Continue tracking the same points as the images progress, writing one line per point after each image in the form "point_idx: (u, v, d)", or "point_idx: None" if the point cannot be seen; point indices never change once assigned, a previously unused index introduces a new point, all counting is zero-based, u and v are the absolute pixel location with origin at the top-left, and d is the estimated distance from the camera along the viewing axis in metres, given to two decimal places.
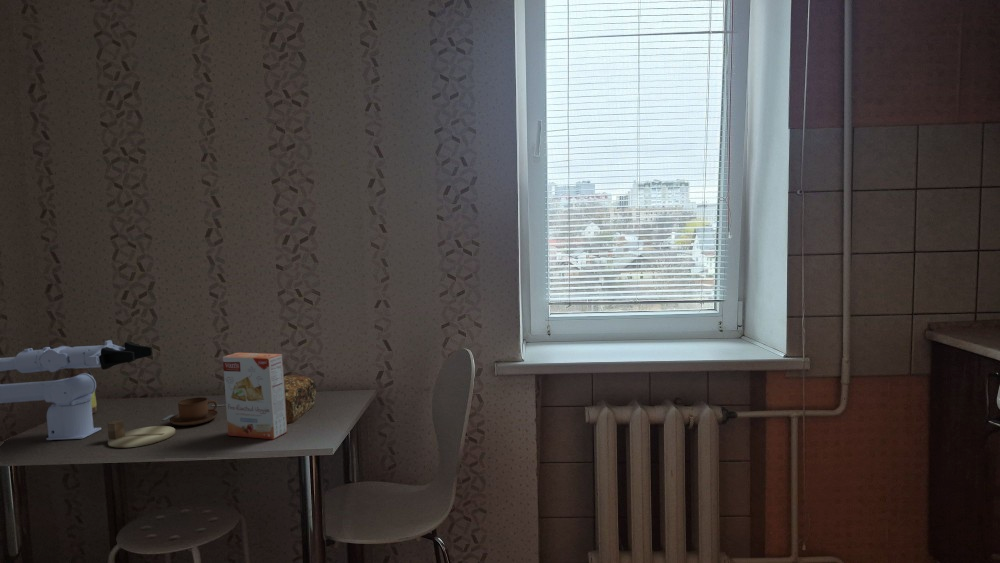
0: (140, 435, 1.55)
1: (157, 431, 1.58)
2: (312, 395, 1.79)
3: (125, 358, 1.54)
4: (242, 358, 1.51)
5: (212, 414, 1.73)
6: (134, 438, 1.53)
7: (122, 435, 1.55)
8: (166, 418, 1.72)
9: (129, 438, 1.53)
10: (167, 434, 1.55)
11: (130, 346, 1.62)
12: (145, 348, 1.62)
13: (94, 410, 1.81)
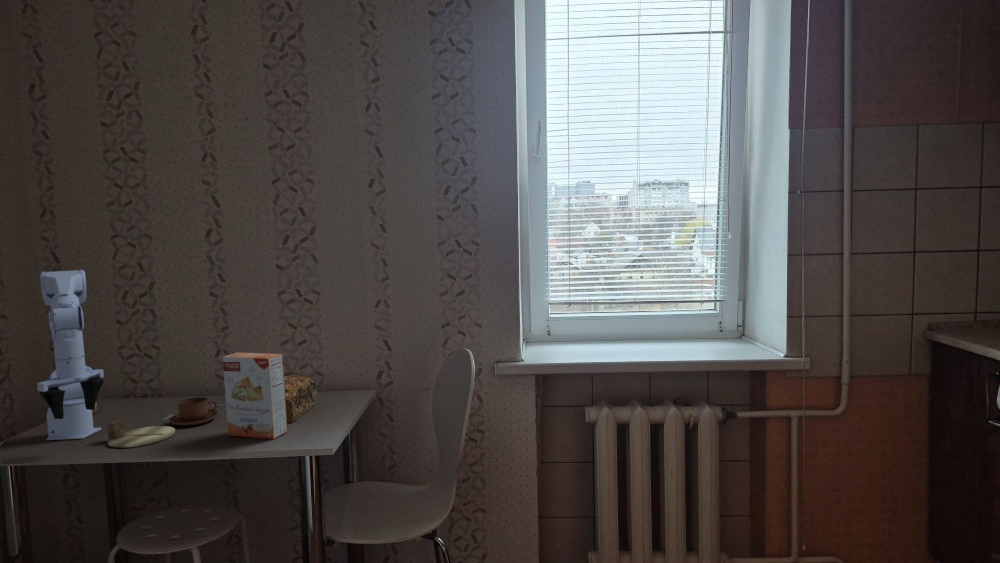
0: (140, 435, 1.55)
1: (157, 431, 1.58)
2: (312, 395, 1.79)
3: (54, 411, 1.40)
4: (242, 358, 1.51)
5: (212, 414, 1.72)
6: (134, 438, 1.53)
7: (122, 435, 1.55)
8: (166, 418, 1.72)
9: (129, 438, 1.53)
10: (167, 434, 1.55)
11: (92, 387, 1.47)
12: (91, 404, 1.47)
13: (94, 410, 1.81)
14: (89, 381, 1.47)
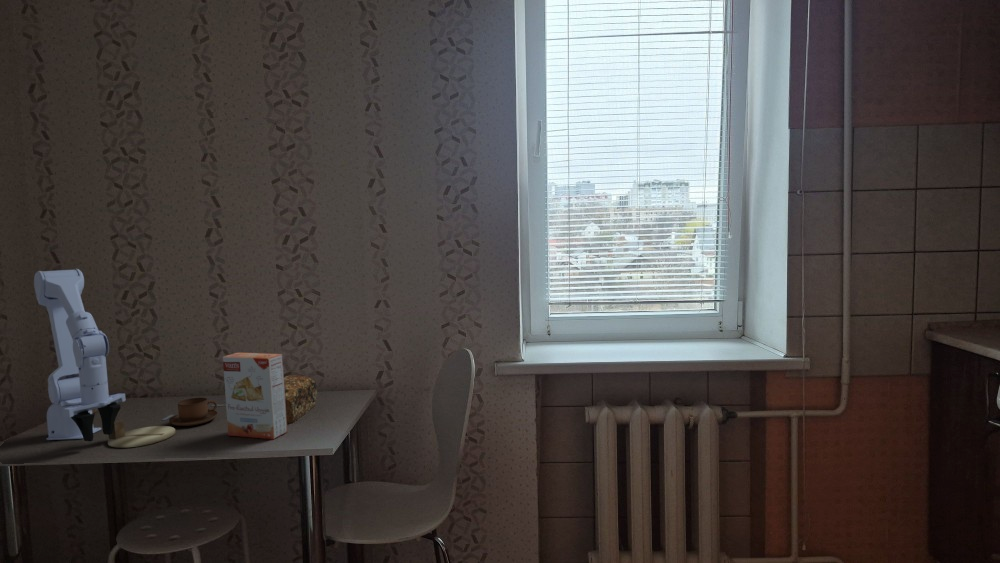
0: (140, 435, 1.55)
1: (157, 431, 1.58)
2: (313, 395, 1.79)
3: (84, 433, 1.47)
4: (242, 358, 1.51)
5: (212, 414, 1.72)
6: (134, 438, 1.53)
7: (122, 435, 1.55)
8: (166, 418, 1.72)
9: (129, 438, 1.53)
10: (167, 434, 1.55)
11: (110, 413, 1.51)
12: (109, 429, 1.52)
13: (94, 410, 1.81)
14: (107, 407, 1.52)
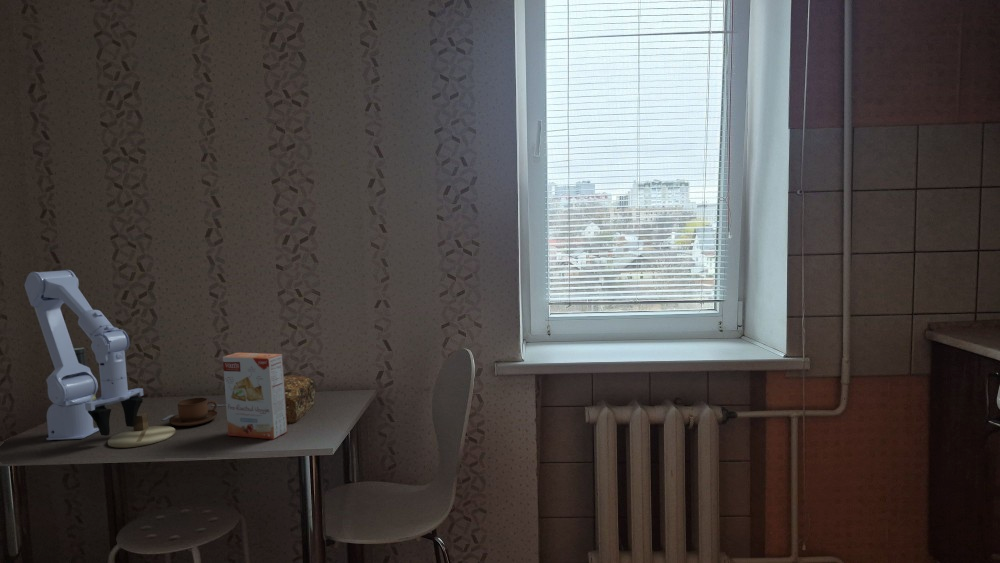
0: (140, 434, 1.56)
1: (152, 436, 1.54)
2: (312, 395, 1.79)
3: (101, 428, 1.51)
4: (242, 358, 1.51)
5: (212, 414, 1.72)
6: (131, 436, 1.55)
7: (141, 429, 1.59)
8: (166, 418, 1.72)
9: (132, 434, 1.57)
10: (136, 443, 1.50)
11: (133, 406, 1.57)
12: (131, 421, 1.58)
13: None
14: (129, 400, 1.57)
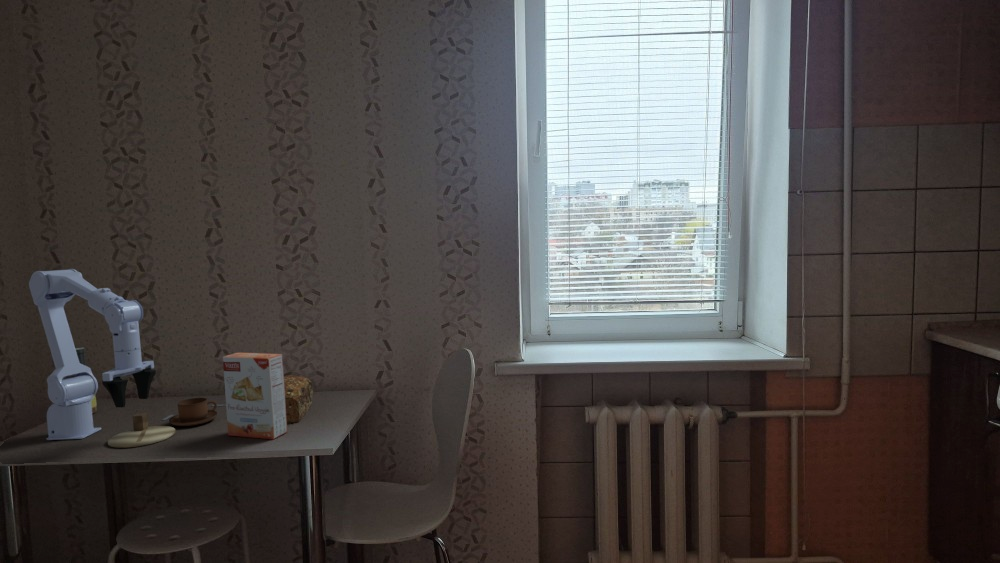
0: (140, 434, 1.56)
1: (152, 436, 1.54)
2: (310, 395, 1.80)
3: (116, 400, 1.48)
4: (242, 358, 1.51)
5: (212, 414, 1.72)
6: (131, 436, 1.55)
7: (141, 429, 1.59)
8: (166, 418, 1.72)
9: (132, 434, 1.57)
10: (136, 443, 1.50)
11: (147, 377, 1.55)
12: (145, 393, 1.55)
13: (94, 410, 1.81)
14: (143, 372, 1.55)
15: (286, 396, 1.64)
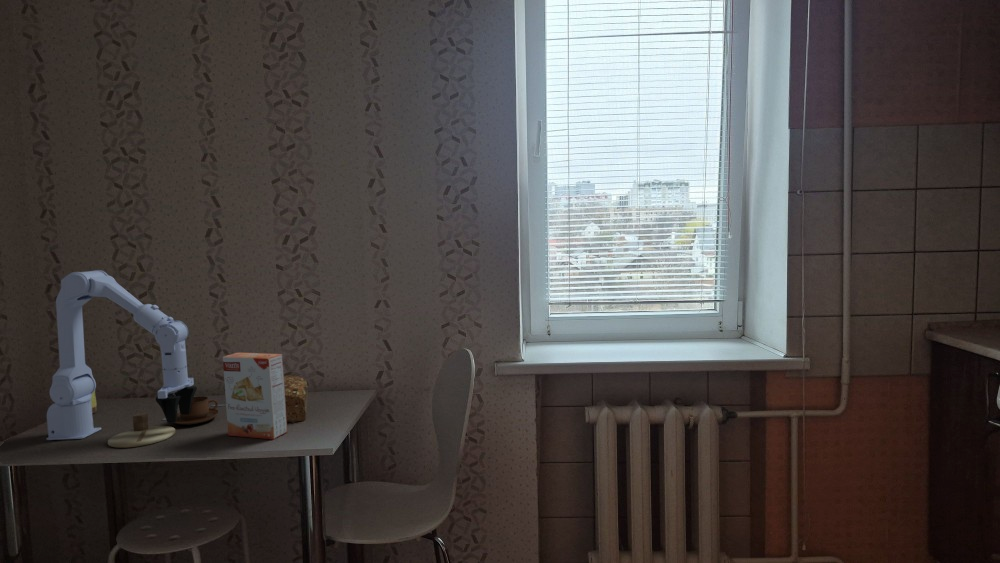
0: (140, 434, 1.56)
1: (152, 436, 1.54)
2: None
3: (168, 415, 1.56)
4: (242, 358, 1.51)
5: (213, 413, 1.73)
6: (131, 436, 1.55)
7: (141, 429, 1.59)
8: None
9: (132, 434, 1.57)
10: (136, 443, 1.50)
11: (189, 394, 1.63)
12: (187, 409, 1.64)
13: (94, 410, 1.81)
14: (185, 389, 1.63)
15: (292, 395, 1.64)
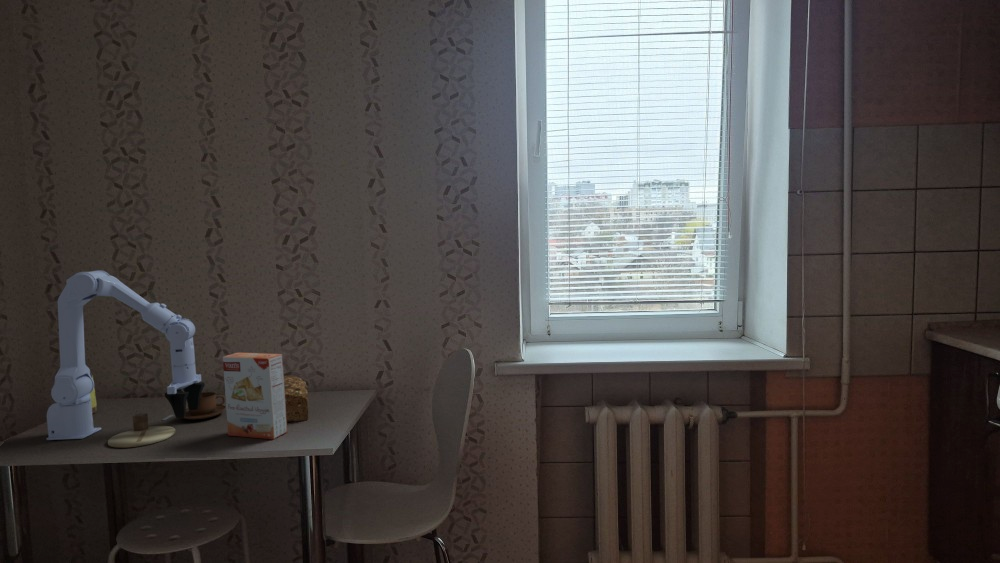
0: (140, 434, 1.56)
1: (152, 436, 1.54)
2: None
3: (177, 411, 1.61)
4: (242, 358, 1.51)
5: (220, 408, 1.77)
6: (131, 436, 1.55)
7: (141, 429, 1.59)
8: (166, 418, 1.72)
9: (132, 434, 1.57)
10: (136, 443, 1.50)
11: (197, 390, 1.68)
12: (196, 404, 1.68)
13: (94, 410, 1.81)
14: (193, 385, 1.68)
15: (295, 395, 1.65)
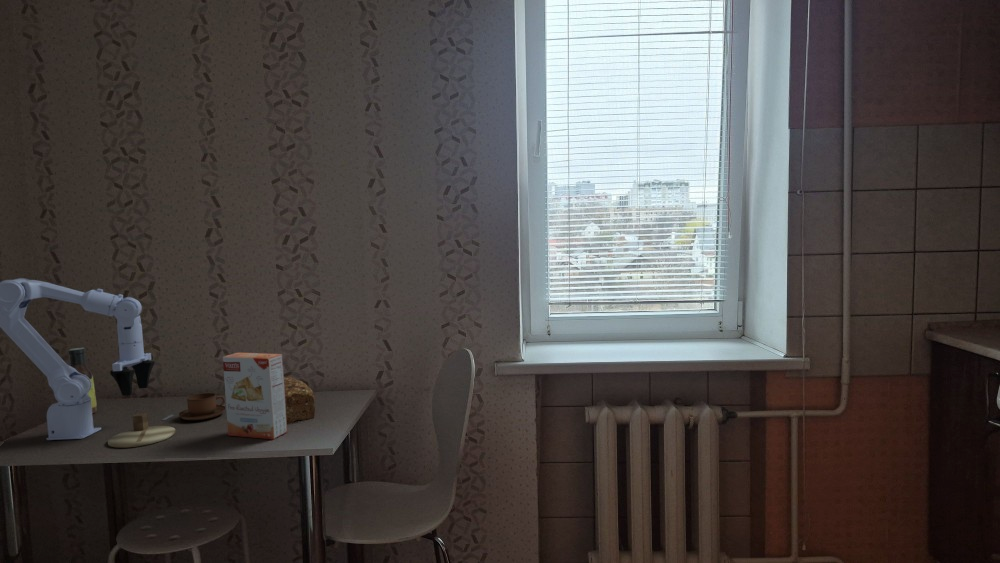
0: (140, 434, 1.56)
1: (152, 436, 1.54)
2: None
3: (123, 389, 1.60)
4: (242, 358, 1.51)
5: (220, 409, 1.77)
6: (131, 436, 1.55)
7: (141, 429, 1.59)
8: (166, 418, 1.72)
9: (132, 434, 1.57)
10: (136, 443, 1.50)
11: (147, 368, 1.68)
12: (145, 383, 1.68)
13: (94, 410, 1.81)
14: (143, 363, 1.68)
15: (302, 393, 1.66)
